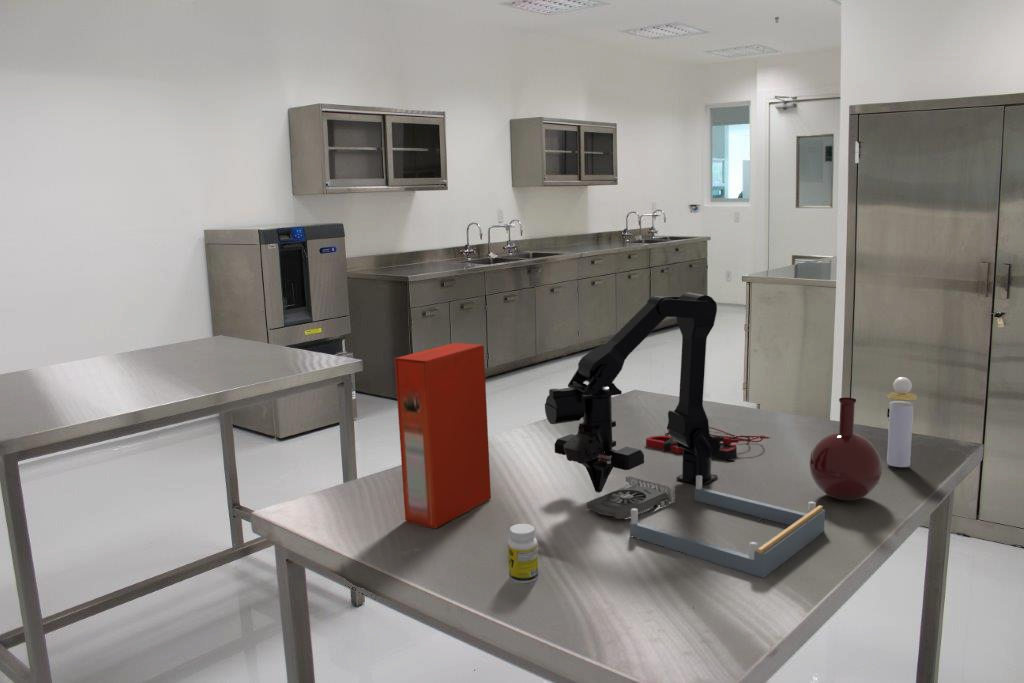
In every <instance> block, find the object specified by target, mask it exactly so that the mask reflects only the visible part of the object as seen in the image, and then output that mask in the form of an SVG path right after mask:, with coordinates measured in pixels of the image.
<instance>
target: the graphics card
mask: <svg viewBox="0 0 1024 683" xmlns="http://www.w3.org/2000/svg"><path fill="white" fill-rule="evenodd" d="M625 482H626V483H628V485H627V484H626V485H625V486H623V487H621V488H618V489H616V490H613V491H611V492H608V493H606V494H603V495H602V496H599V497H597V498H594V499H592V500H589V501H587V502H586V508H587V510H592V511H594V512H596V513H597V514H600V515H605V516H609V517H612V516H613V517H614V518H616V519H623V518H629V517H631V509H633V508H635V509H638V514H639V513H641V512H644V511H646V510H648V509H650V510H652V509H651V508H653V507H654V506H655V505H660V507H664V506H665V505H666V506H667V505H669V506H671V505H672V504H674V503H675V502H676V487H670V486H668V485H663V484H661V483H657V482H652V481H649V480H645V479H642V478H638V477H634V476H628V477H625ZM648 485H649V486H648ZM653 486H654V487H653ZM669 502H671V504H669ZM667 507H668V506H667ZM654 508H655V507H654ZM654 508H653V509H654ZM648 511H649V510H648ZM646 512H647V511H646ZM644 513H645V512H644ZM641 514H642V513H641ZM639 515H640V514H639Z"/></svg>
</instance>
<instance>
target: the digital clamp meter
mask: <svg viewBox="0 0 1024 683" xmlns="http://www.w3.org/2000/svg"><path fill="white" fill-rule="evenodd" d="M666 429H667V428H666ZM710 429H711V430H715V431H718V432H721V433H723V434H726V435H716V434H712V433H710V436H711V437H712V438H713V439H714V440H715V441H716V442H717V443H718V444H719V445H720V449H719V452H718V455H715V456H712V457H711V459H717V460H723V461H730V460H734V459H735V458H737V450H738V448H737V445H736V443H739V442H747V443H745V445H749V444H750V442H751V443H759V442H761V441H763V440H764V439H771V437H769V436H765V435H743V434H742V435H735V434H732V433H729V432H726V431H724V430H722V429H718V428H716V427H710V426H709V430H710ZM666 431H668V432H666V433H664V435H654V436H649V437H647V438H645V446H646V448H650V449H657V450H662V451H664V452H672V453H675V454H683V449H681V448H678V447H677V445H676V442H675V440H674V439H673V438H672V437H671V436H670V433H669V430H668V429H667V430H666ZM728 435H729V436H728ZM735 436H736V437H735ZM749 437H756V438H749ZM759 437H761V438H759ZM756 439H757V440H756ZM758 439H759V440H758ZM734 443H735V444H734Z"/></svg>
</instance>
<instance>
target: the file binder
mask: <svg viewBox="0 0 1024 683" xmlns="http://www.w3.org/2000/svg"><path fill="white" fill-rule="evenodd" d="M485 365H486V364H485V348H484V345H483V344H475V343H473V344H472V343H462V342H452V343H448V344H445V345H440V346H437V347H433V348H430V349H426V350H421V351H418V352H413V353H409V354H406V355H402V356H399V357H395V358H394V369H395V370H394V372H395V381H396V382H395V384H396V385H395V387H396V399H397V400H396V401H397V414H398V415H397V416H398V417H397V418H398V428H399V429H398V430H399V444H400V445H399V447H400V460H401V461H400V462H401V475H402V490H403V503H404V507H403V508H404V519H405V522H408V523H411V524H416V525H419V526H423V527H427V528H431V529H437V528H439V527H441V526H443V525H444V524H447V523H448V522H450V521H452V520H454V519H456V518H458V517H459V516H461V515H463V514H465V513H467V512H468V511H470V510H472V509H475V508H476V507H478V506H479V505H481V504H484V503H485V502H487V501H488V500H489V501H490V500H491V498H492V493H491V492H492V491H491V472H490V450H489V449H490V447H489V429H488V411H487V410H488V408H487V406H488V404H487V392H486V391H487V388H486V369H485V368H486V366H485Z"/></svg>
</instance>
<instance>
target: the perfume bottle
mask: <svg viewBox="0 0 1024 683" xmlns="http://www.w3.org/2000/svg"><path fill="white" fill-rule="evenodd" d="M892 387H893V391H890V392H887V394H886V396H887V398H888V399H891V400H894V401H891V402H889V408H887V414H886V418H887V419H888V432H887V433H888V434H887V435H888V436H887V449H886V450H887V453H886V454H887V455H886V464H887V465H888V466H892V467H895V468H896V467H897V468H908V467H910V466H911V453H912V436H913V435H912V434H913V418H914V417H913V416H914V403H912V402H910V401H916V400H917V399H918V395H917V394H916V393H913V392H911V390H912V388H913V383H912V380H910V379H909V378H908V377H904V376H900V377H897V378H896V379H895V380H894V381H893V384H892Z"/></svg>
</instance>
